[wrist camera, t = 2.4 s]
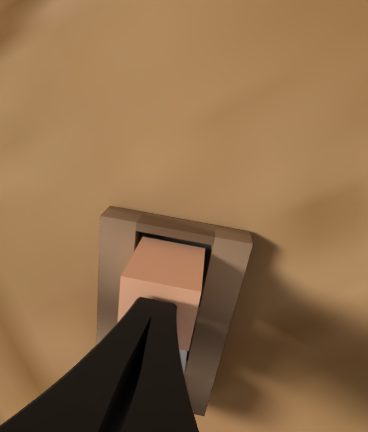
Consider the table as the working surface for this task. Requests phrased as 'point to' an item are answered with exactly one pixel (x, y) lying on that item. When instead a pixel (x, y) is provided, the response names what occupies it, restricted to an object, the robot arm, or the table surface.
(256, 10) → the table surface
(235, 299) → the brown flat frame
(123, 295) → the key terracotta
